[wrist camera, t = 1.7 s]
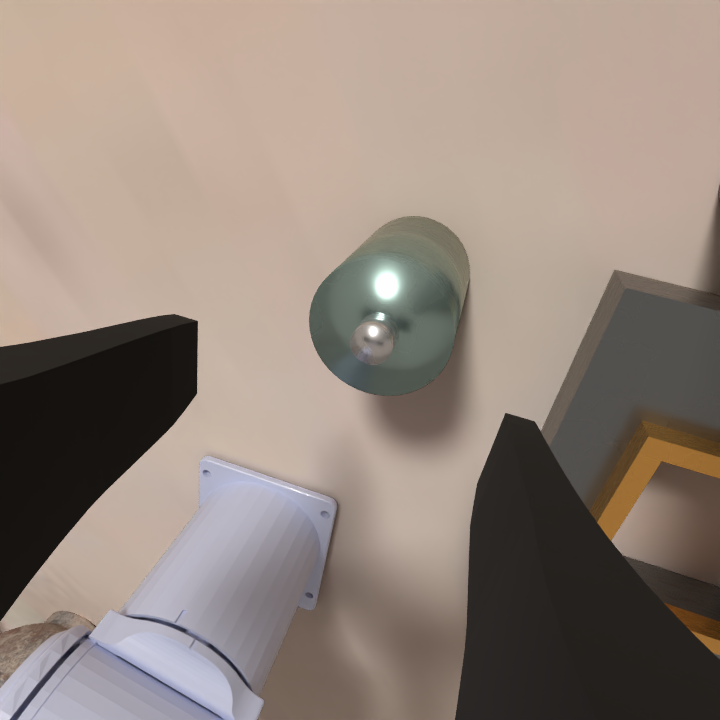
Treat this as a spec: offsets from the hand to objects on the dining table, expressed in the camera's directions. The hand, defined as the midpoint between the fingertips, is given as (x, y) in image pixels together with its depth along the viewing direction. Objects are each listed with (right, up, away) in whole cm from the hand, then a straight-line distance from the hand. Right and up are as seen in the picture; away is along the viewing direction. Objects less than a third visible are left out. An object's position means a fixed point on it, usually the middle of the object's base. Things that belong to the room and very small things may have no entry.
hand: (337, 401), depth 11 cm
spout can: (+3, +4, +9) cm, 10 cm away
